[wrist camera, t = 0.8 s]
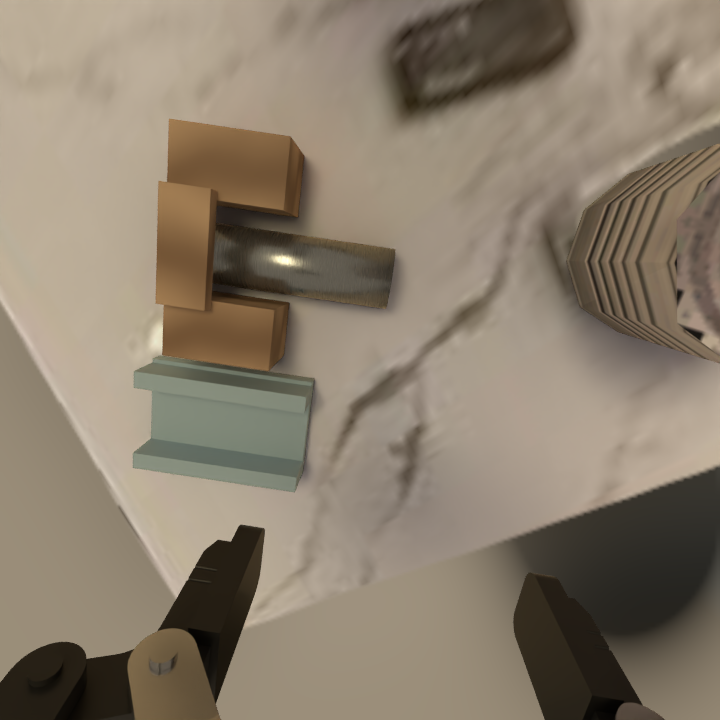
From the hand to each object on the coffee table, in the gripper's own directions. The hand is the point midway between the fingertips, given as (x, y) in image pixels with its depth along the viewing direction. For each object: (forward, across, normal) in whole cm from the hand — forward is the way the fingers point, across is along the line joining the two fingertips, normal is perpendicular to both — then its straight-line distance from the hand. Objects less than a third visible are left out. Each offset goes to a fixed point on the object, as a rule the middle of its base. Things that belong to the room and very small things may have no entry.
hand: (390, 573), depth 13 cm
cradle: (+20, +11, +5) cm, 23 cm away
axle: (+18, +8, -7) cm, 21 cm away
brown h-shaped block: (+20, +11, -7) cm, 24 cm away
